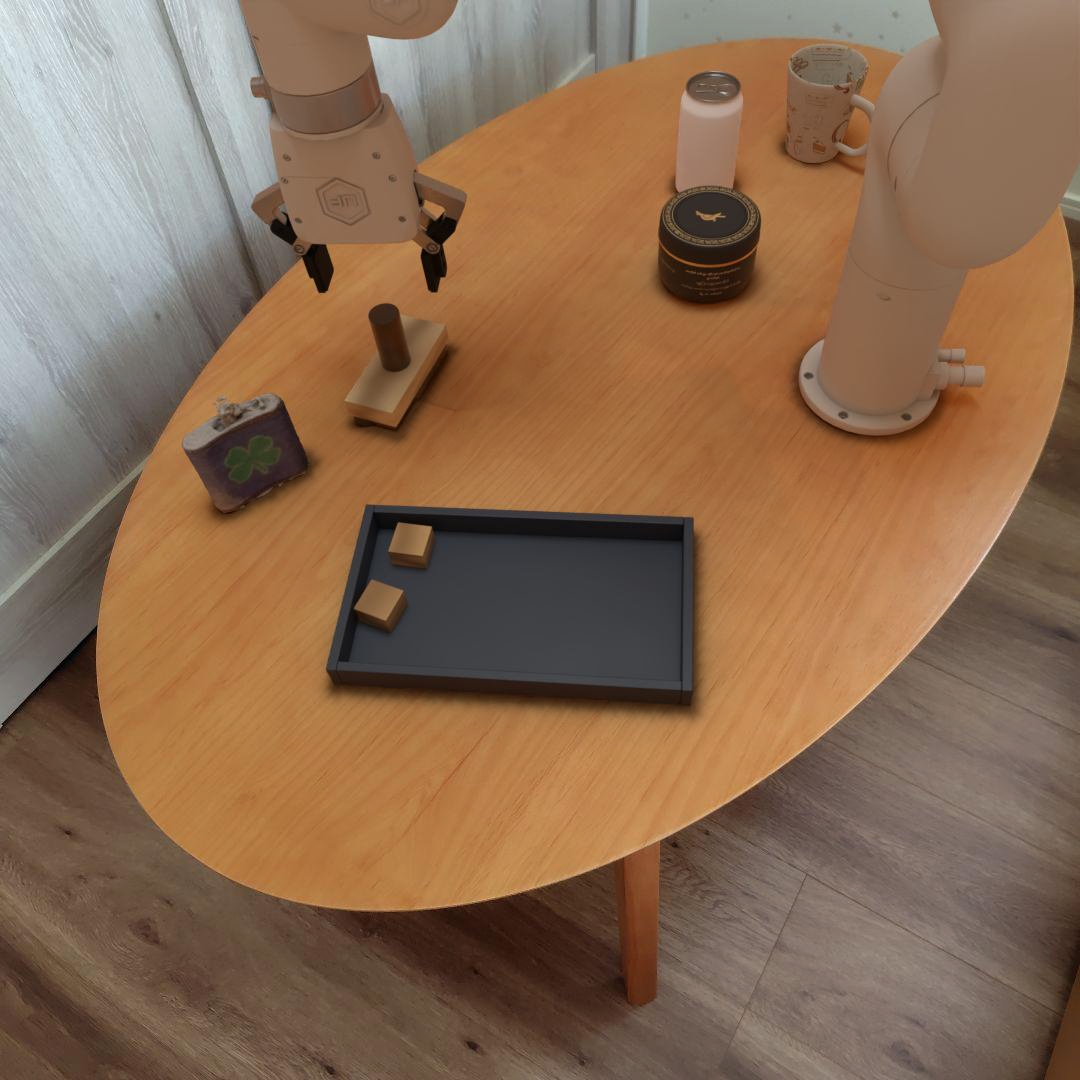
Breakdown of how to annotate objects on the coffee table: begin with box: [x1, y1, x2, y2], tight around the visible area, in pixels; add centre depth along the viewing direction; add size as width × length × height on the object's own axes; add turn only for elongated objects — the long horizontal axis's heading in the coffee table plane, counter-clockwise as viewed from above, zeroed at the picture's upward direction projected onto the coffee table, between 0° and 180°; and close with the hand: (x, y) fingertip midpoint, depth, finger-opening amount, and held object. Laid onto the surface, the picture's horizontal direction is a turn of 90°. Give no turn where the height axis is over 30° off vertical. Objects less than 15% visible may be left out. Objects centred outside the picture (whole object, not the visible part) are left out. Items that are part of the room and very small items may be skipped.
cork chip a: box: [388, 522, 435, 569], centre depth 79 cm, size 3×3×2 cm
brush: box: [343, 302, 450, 431], centre depth 88 cm, size 5×12×10 cm, turn 159°
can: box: [675, 70, 744, 193], centre depth 101 cm, size 6×6×12 cm
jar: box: [657, 186, 762, 305], centre depth 95 cm, size 10×10×8 cm
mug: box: [785, 43, 875, 164], centre depth 104 cm, size 8×13×10 cm, turn 43°
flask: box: [181, 392, 311, 514], centre depth 82 cm, size 9×3×11 cm, turn 125°
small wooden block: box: [354, 579, 408, 632], centre depth 76 cm, size 3×3×2 cm
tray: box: [325, 503, 695, 707], centre depth 76 cm, size 28×16×3 cm, turn 85°
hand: (381, 281), depth 81 cm, fingers open, 9 cm apart
